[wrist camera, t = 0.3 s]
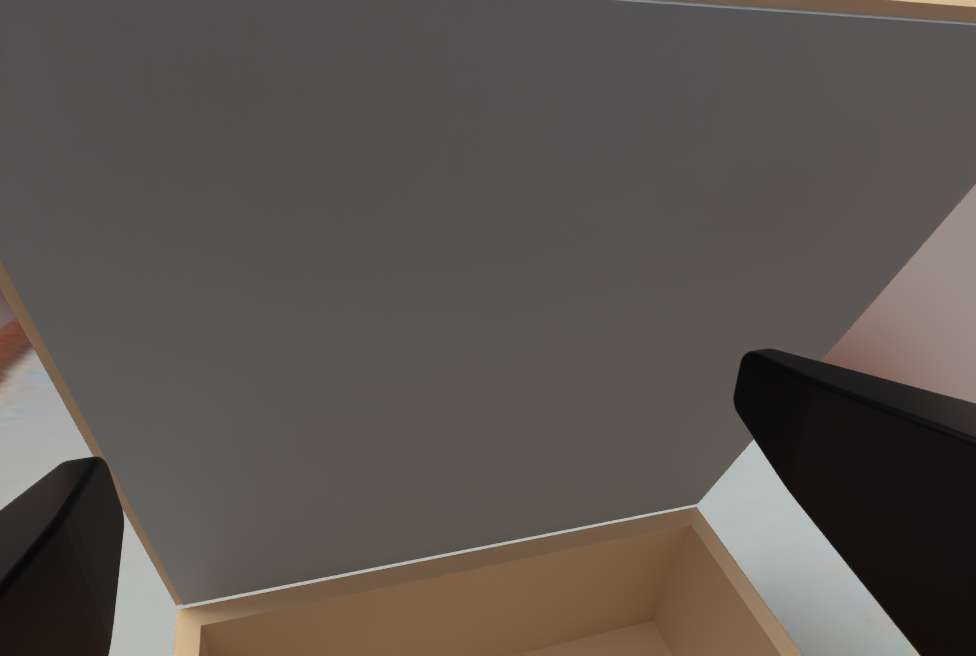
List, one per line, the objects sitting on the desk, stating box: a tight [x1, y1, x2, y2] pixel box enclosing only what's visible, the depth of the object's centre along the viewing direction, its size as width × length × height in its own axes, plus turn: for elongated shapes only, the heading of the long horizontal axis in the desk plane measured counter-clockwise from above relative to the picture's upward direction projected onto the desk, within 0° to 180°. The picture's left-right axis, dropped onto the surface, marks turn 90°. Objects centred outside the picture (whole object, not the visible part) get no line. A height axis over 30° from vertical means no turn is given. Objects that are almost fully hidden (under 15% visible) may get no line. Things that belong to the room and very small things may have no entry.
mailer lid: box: [0, 0, 976, 605], centre depth 13 cm, size 16×16×1 cm
